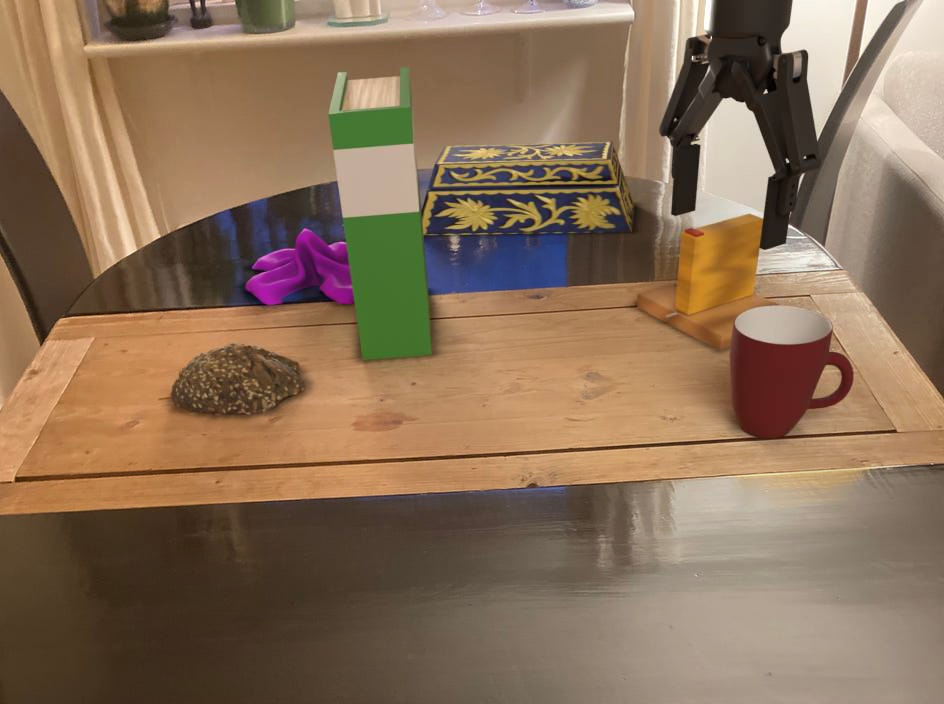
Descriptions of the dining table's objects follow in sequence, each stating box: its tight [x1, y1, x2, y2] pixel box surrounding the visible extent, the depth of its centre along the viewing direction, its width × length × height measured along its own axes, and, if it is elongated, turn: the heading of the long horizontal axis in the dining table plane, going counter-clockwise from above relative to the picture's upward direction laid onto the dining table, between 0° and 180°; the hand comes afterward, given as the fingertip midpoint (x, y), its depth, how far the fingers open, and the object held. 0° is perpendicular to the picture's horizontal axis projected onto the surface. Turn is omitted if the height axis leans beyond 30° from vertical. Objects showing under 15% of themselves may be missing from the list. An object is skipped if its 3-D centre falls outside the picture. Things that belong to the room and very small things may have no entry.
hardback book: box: [327, 66, 433, 361], centre depth 100 cm, size 18×7×24 cm, turn 3°
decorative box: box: [421, 141, 635, 236], centre depth 129 cm, size 11×30×9 cm, turn 82°
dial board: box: [636, 281, 780, 351], centre depth 104 cm, size 14×13×2 cm
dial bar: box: [675, 213, 763, 315], centre depth 101 cm, size 9×2×8 cm, turn 119°
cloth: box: [244, 228, 355, 306], centre depth 120 cm, size 22×19×6 cm
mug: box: [729, 304, 855, 440], centre depth 83 cm, size 10×8×10 cm
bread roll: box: [170, 342, 306, 416], centre depth 97 cm, size 13×12×5 cm
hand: (725, 228), depth 98 cm, fingers open, 13 cm apart
